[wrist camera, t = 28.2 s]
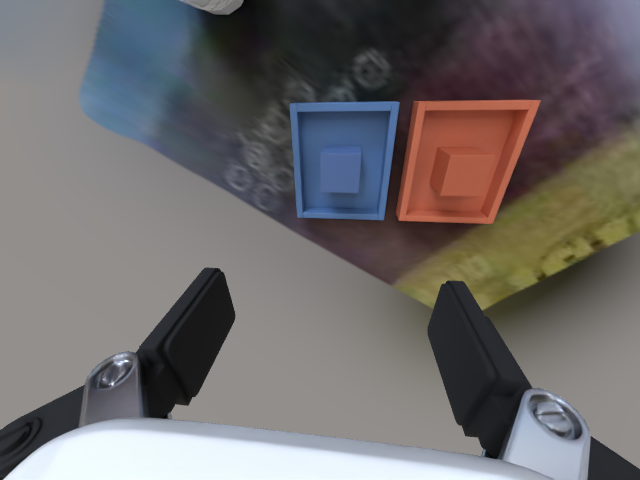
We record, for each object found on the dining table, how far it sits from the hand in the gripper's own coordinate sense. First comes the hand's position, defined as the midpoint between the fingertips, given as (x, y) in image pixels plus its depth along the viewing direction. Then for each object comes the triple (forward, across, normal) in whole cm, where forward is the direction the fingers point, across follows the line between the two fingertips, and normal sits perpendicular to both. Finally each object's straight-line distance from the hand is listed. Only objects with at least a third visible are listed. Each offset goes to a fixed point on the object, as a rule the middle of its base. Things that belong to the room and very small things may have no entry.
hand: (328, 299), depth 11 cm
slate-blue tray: (+24, 0, 0) cm, 24 cm away
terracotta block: (+24, -13, 0) cm, 27 cm away
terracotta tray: (+24, -14, 0) cm, 28 cm away
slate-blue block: (+24, 0, 0) cm, 24 cm away
